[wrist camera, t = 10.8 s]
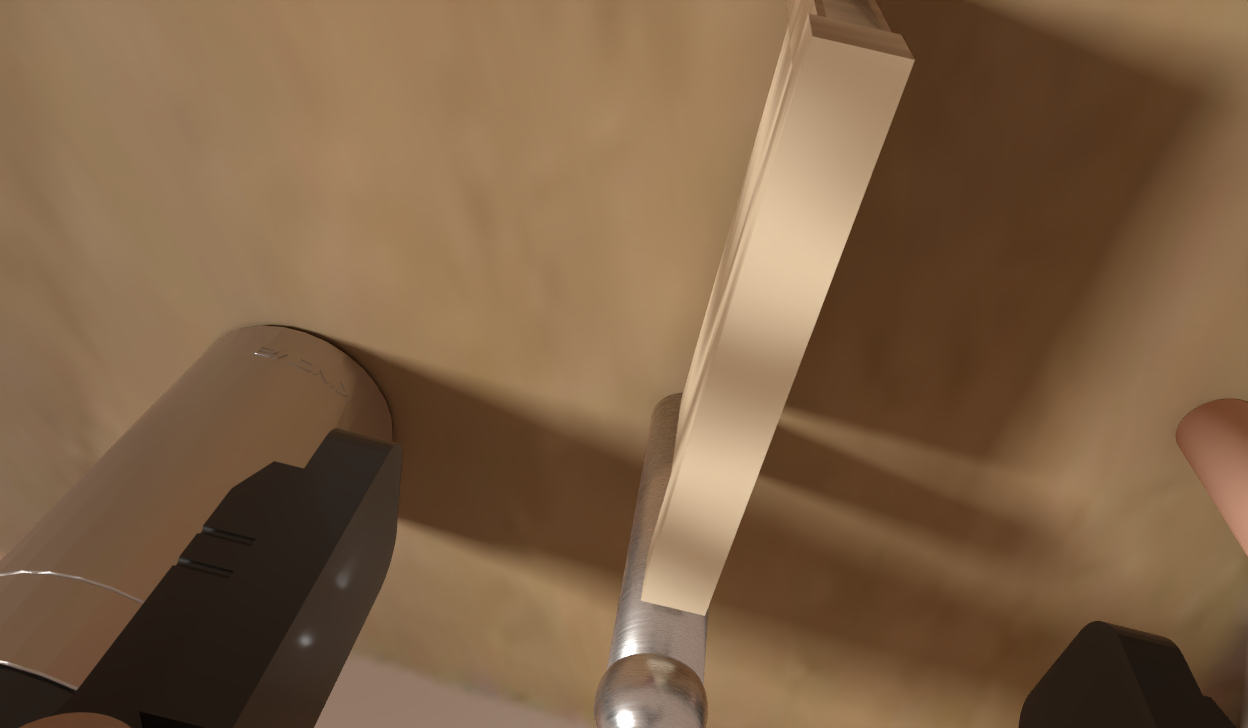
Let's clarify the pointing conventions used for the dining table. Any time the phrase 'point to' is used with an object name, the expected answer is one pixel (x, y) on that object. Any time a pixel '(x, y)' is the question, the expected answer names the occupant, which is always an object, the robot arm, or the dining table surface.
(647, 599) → the light wood flat panel
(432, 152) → the dining table surface
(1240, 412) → the post
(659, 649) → the hinge post
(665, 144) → the dining table surface
